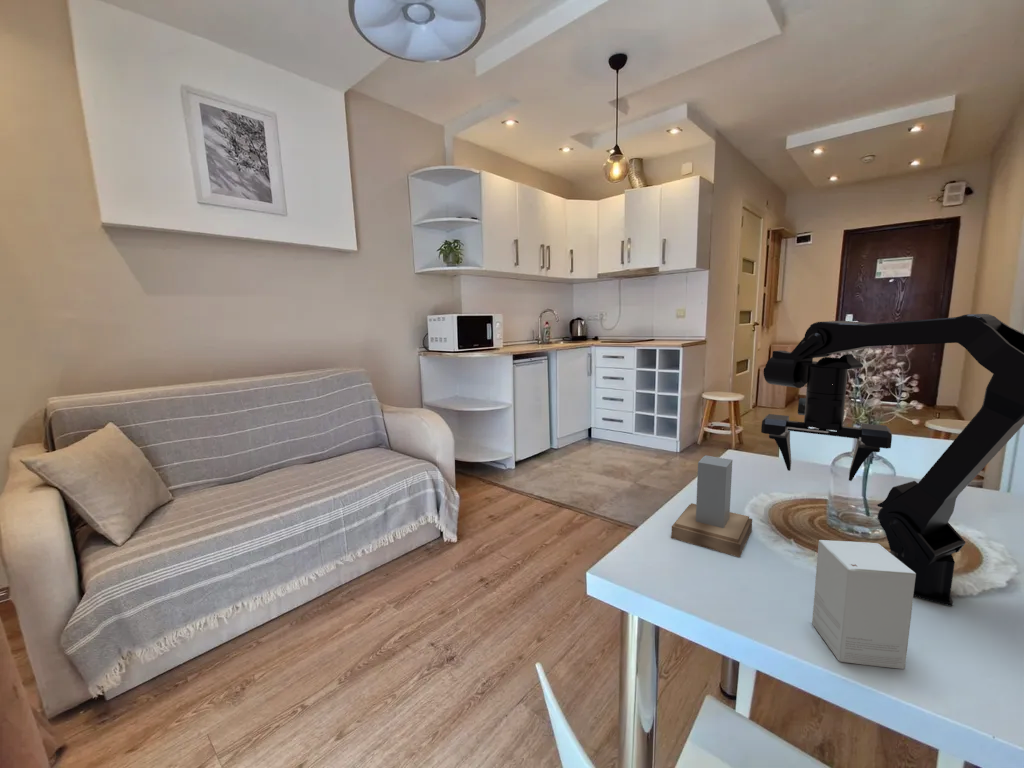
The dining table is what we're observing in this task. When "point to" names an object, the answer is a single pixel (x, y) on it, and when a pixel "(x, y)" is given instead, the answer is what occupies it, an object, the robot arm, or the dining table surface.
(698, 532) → the walnut stand
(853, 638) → the supplement box
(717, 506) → the block
